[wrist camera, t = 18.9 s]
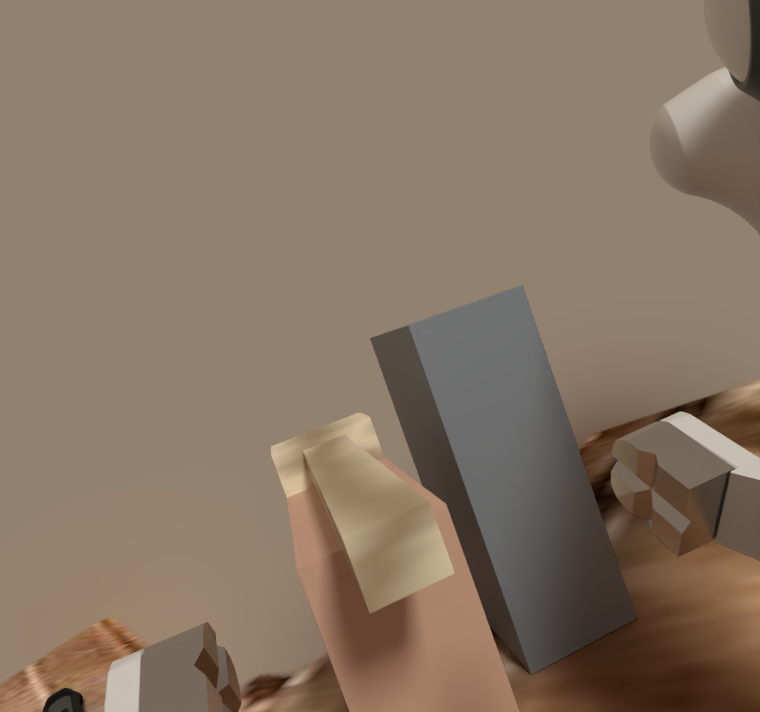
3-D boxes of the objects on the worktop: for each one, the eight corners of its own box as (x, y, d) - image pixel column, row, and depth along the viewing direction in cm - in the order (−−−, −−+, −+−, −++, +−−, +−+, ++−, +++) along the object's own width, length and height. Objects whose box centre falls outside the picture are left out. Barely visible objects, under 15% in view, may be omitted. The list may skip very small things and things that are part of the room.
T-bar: (372, 449, 40) (359, 412, 40) (508, 548, 17) (478, 464, 17) (284, 484, 38) (270, 446, 38) (309, 642, 16) (275, 551, 16)
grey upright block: (540, 554, 52) (455, 308, 51) (636, 618, 39) (522, 284, 38) (460, 592, 51) (370, 338, 49) (531, 674, 37) (408, 325, 36)
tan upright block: (438, 645, 44) (365, 443, 43) (574, 866, 24) (446, 503, 23) (360, 684, 42) (284, 476, 42) (438, 952, 23) (296, 569, 22)
